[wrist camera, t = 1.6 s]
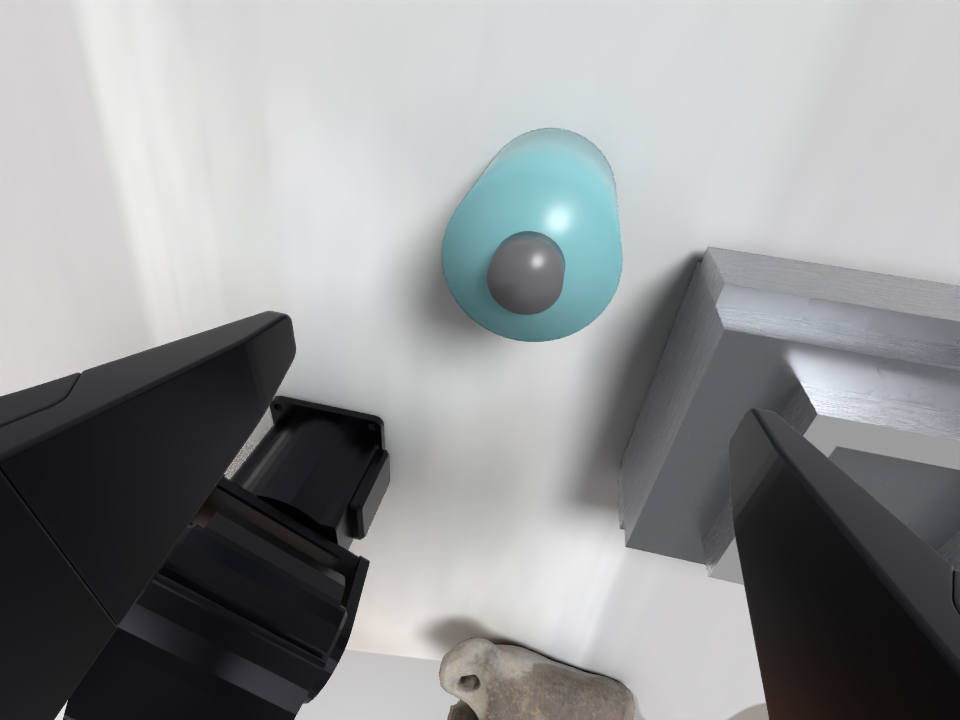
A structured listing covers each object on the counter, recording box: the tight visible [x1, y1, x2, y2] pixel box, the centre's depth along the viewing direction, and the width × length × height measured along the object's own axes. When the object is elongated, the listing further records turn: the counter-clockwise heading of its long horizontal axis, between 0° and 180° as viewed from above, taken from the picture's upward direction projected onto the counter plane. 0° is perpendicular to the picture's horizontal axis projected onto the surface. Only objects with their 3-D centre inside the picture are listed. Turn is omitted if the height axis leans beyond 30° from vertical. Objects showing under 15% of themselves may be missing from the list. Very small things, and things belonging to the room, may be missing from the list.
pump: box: [442, 128, 622, 342], centre depth 16 cm, size 5×5×7 cm
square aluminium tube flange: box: [618, 247, 960, 585], centre depth 18 cm, size 14×13×6 cm
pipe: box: [439, 638, 635, 720], centre depth 37 cm, size 16×9×15 cm
